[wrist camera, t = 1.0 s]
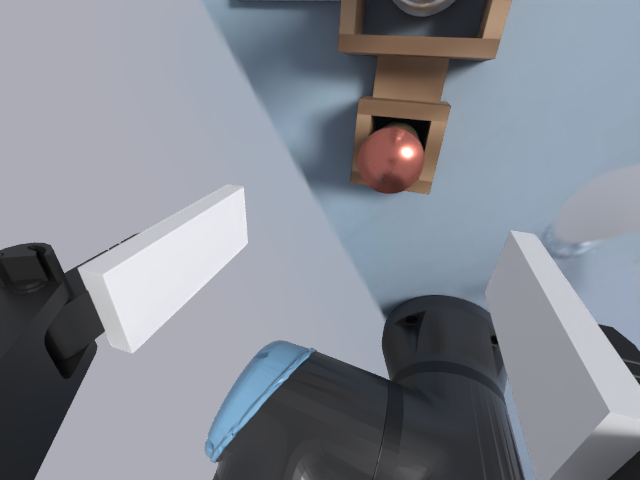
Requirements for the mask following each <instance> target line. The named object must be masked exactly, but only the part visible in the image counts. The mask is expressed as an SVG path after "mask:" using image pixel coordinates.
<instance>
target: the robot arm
mask: <svg viewBox="0 0 640 480" xmlns="http://www.w3.org/2000/svg"><path fill="white" fill-rule="evenodd" d="M245 212H246V211H245V199H244V187H241V186H234V185H229V184H227V185H226V186H224V187H222V188H220V189H218V190H216V191H215V192H213V193H211V194H209V195H207V196H206V197H204V198H202V199H200V200H199V201H197V202H195V203H193V204H191V205H190V206H188V207H186V208H184V209H182V210H181V211H179V212H177V213H175V214H173V215H172V216H170V217H168V218H166V219H164V220H163V221H161V222H159V223H157V224H156V225H154V226H152V227H150V228H148V229H147V230H145V231H143V232H141V233H138V234H135V235H133V236H131V237H129V238H127V239H125V240H124V241H122V242H121V244H116V245H115V246H113V247H111V248H110V249H109V250H106V251H104V252H102V253H100V254H98V255H97V256H95V257H93V258H91V259H89V260H87V261H86V262H84V263H82V264H80V265H78V266H77V267H75V268H73V269H71V270H69V271H67V272H66V273H64V272H63V270H62V268H61V266H60V263H59V261H58V259H57V257H56V255H55V253H54V250H53V249H52V247H51V245H48V244H45V243H28V244H20V245H16V246H12V247H8V248H5V249H3V250H0V480H34V479H35V477H36V475H37V473H38V471H39V469H40V466H41V464H42V463H43V460H44V458H45V456H46V454H47V452H48V450H49V448H50V446H51V444H52V442H53V440H54V438H55V436H56V434H57V432H58V430H59V428H60V426H61V424H62V422H63V420H64V417H65V415H66V413H67V411H68V409H69V407H70V405H71V403H72V401H73V399H74V397H75V395H76V393H77V391H78V389H79V387H80V385H81V383H82V380H83V379H84V377H85V375H86V373H87V370H88V368H89V366H90V364H91V362H92V360H93V358H94V356H95V354H96V351H97V344H96V342H95V339H96V338H97V337H98V336H99V335H101V334H102V333H103V332H105V334H106V336H107V339H108V341H109V343H110V345H111V347H114V348H117V349H120V350H123V351H126V352H129V353H134V352H135V351H136V350H137V349H138V348H139V347H140V346H141V345H142V344H143V343H144V342H145V341H146V340H147V339H148V338H149V337H150V336H152V335H153V334H154V332H156V331H157V330H158V329H159V328H160V327H161V326H162V325H163V324H164V323H165V322H166V321H167V320H168V319H169V318H170V317H171V316H172V315H173V314H175V313H176V312H177V311H178V310H179V309H180V308H181V307H182V306H183V305H184V304H185V303H186V302H187V301H188V300H189V299H190V298H191V297H192V296H193V295H194V294H195V293H196V292H198V291H199V290H200V289H201V288H202V287H203V286H204V285H205V284H206V283H207V282H208V281H209V280H210V279H211V278H212V277H213V276H214V275H215V274H216V273H217V272H218V271H219V270H220V269H222V268H223V267H224V266H225V265H226V264H227V263H228V262H229V261H230V260H231V259H232V258H233V257H234V256H235V255H236V254H237V253H238V252H239V251H240V250H241V249H242V248H244V247H245V245H247V244H248V237H247V224H246V213H245ZM485 296H486V300H487V303H488V307H489V311H490V313H489V312H487V311H486V310H485V309H483V308H481V307H480V306H478V305H476V304H474V303H472V302H469V301H466V300H463V299H460V298H455V297H449V296H426V297H420V298H416V299H413V300H410V301H408V302H406V303H404V304H402V305H400V306H399V307H397V308H396V309H395V310H394V311H393V312H392V313H391V314H390V315H389V317H388V318H387V320H386V323H385V326H384V331H383V337H382V350H383V354H384V358H385V362H386V366H387V370H388V374H389V378H390V380H387V379H385V378H383V377H381V376H378V375H376V374H373V373H371V372H368V371H365V370H363V369H360V368H358V367H355V366H352V365H350V364H347V363H345V362H342V361H340V360H337V359H335V358H332V357H329V356H327V355H324V354H321V353H319V352H317V350H315V349H313V348H311V349H307V348H305V347H302V346H299V345H296V344H292V343H290V342H287V341H274V342H272V343H270V344H268V345H266V346H265V347H264V348H262V349H261V350H260V351H259V352H258V353H257V354H256V356H254V358H253V359H252V360H251V361H250V362H249V364H248V365H247V366H246V368H245V369H244V370H243V372H242V373H241V374H240V376H239V377H238V379H237V380H236V382H235V383H234V385H233V387H232V388H231V390H230V392H229V393H228V395H227V397H226V398H225V400H224V402H223V403H222V405H221V407H220V410H219V411H218V413H217V415H216V417H215V419H214V421H213V423H212V426H211V428H210V431H209V434H208V439H207V441H206V443H205V453H206V455H207V456H208V457H209V458H210V460H211V462H213V463H216V462H219V463H218V468H217V471H216V473H215V476H214V478H213V480H525V477H524V473H523V469H522V465H521V461H520V457H519V454H518V450H517V446H516V442H515V438H514V434H513V430H512V426H511V422H510V418H509V414H508V411H507V407H506V403H505V399H504V391H505V385H506V379H507V376H508V380H509V383H510V387H511V391H512V394H513V398H514V402H515V405H516V409H517V413H518V416H519V420H520V423H521V427H522V431H523V434H524V438H525V442H526V445H527V449H528V453H529V456H530V460H531V463H532V467H533V471H534V474H535V478H536V480H640V351H639V350H638V349H637V347H636V346H635V345H634V344H633V343H631V342H630V341H629V340H628V339H626V338H625V337H624V336H623V335H622V334H620V333H619V332H618V331H617V330H615V329H614V328H613V327H609V326H604V325H600V324H597V323H596V321H595V320H594V318H593V317H592V316H591V314H590V313H589V311H588V310H587V308H586V307H585V305H584V304H583V303H582V301H581V300H580V298H579V297H578V295H577V294H576V292H575V291H574V290H573V288H572V287H571V285H570V284H569V282H568V281H567V279H566V278H565V277H564V275H563V274H562V272H561V271H560V269H559V268H558V266H557V265H556V264H555V262H554V261H553V259H552V258H551V256H550V255H549V253H548V252H547V251H546V249H545V248H544V246H543V245H542V243H541V242H540V240H539V239H538V238H537V236H536V235H535V234H530V233H524V232H517V231H511V230H510V232H509V235H508V237H507V240H506V242H505V245H504V247H503V249H502V252H501V254H500V257H499V259H498V262H497V264H496V266H495V269H494V271H493V274H492V276H491V279H490V281H489V283H488V286H487V288H486V291H485Z"/></svg>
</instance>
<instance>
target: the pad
mask: <svg viewBox="0 0 640 480" xmlns="http://www.w3.org/2000/svg"><path fill="white" fill-rule="evenodd" d="M240 1H341V0H240Z"/></svg>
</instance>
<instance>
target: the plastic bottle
mask: <svg viewBox="0 0 640 480" xmlns="http://www.w3.org/2000/svg"><path fill="white" fill-rule="evenodd" d="M454 1H455V0H393V2H394V3H395V4H396V5H397V6H398V7H399V8H400V9H401V10H402V11H404V12H406V13H407V14H410V15H413V16H422V17H424V16H430V15H434V14H436V13H438V12H441V11H443V10H444V9H446V8H447V7H449V6H450V5H451V4H452V3H453V2H454Z"/></svg>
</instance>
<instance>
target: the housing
mask: <svg viewBox="0 0 640 480" xmlns="http://www.w3.org/2000/svg"><path fill="white" fill-rule="evenodd" d="M511 2H512V0H486V1H485V5H484V9H483V13H482V17H481V21H480V25H479V29H478V33H477V36H476V38H454V37H422V36H390V35H363V27H364V18H365V8H366V0H341V11H340V26H339V40H338V52H341V53H345V54H351V55H372V56H378V58H377V66H376V74H375V82H374V90H373V96H365V97H362V98H360V99H359V102H358V111H357V121H356V130H355V140H354V149H353V159H352V168H351V178H350V183H355V184H361V185H367V184H366V183H365V182H364V180H363V179H362V177H361V175H360V173H359V170H358V154H359V151H360V149H361V146H362V145H363V143H364V142H365V141H366V139H367V138H368V137H369V136H370V135H371V134H373V133H374V132H375V127H376V119H377V116H384V117H395V118H405V119H416V120H427V121H429V124H428V129H427V134H426V138H425V143H424V147H423V151H424V166H423V170H422V172H421V175H420V176H419V178H418V179H417V181H416V182H415V183H414V184H413V185H412V186H410V187H409V188H408V189H406V190H404V191H409V192H416V193H423V194H429V193H430V189H431V185H432V181H433V177H434V173H435V169H436V165H437V161H438V157H439V153H440V149H441V145H442V141H443V136H444V132H445V128H446V124H447V120H448V116H449V112H450V108H451V106H450V105H449V103H448V102H440V99H441V95H442V91H443V86H444V82H445V77H446V73H447V69H448V64H449V60H450V59H457V60H478V61H487V60H491V59H495V57H496V53H497V50H498V47H499V43H500V40H501V36H502V33H503V29H504V26H505V22H506V19H507V16H508V12H509V9H510V5H511Z"/></svg>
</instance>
